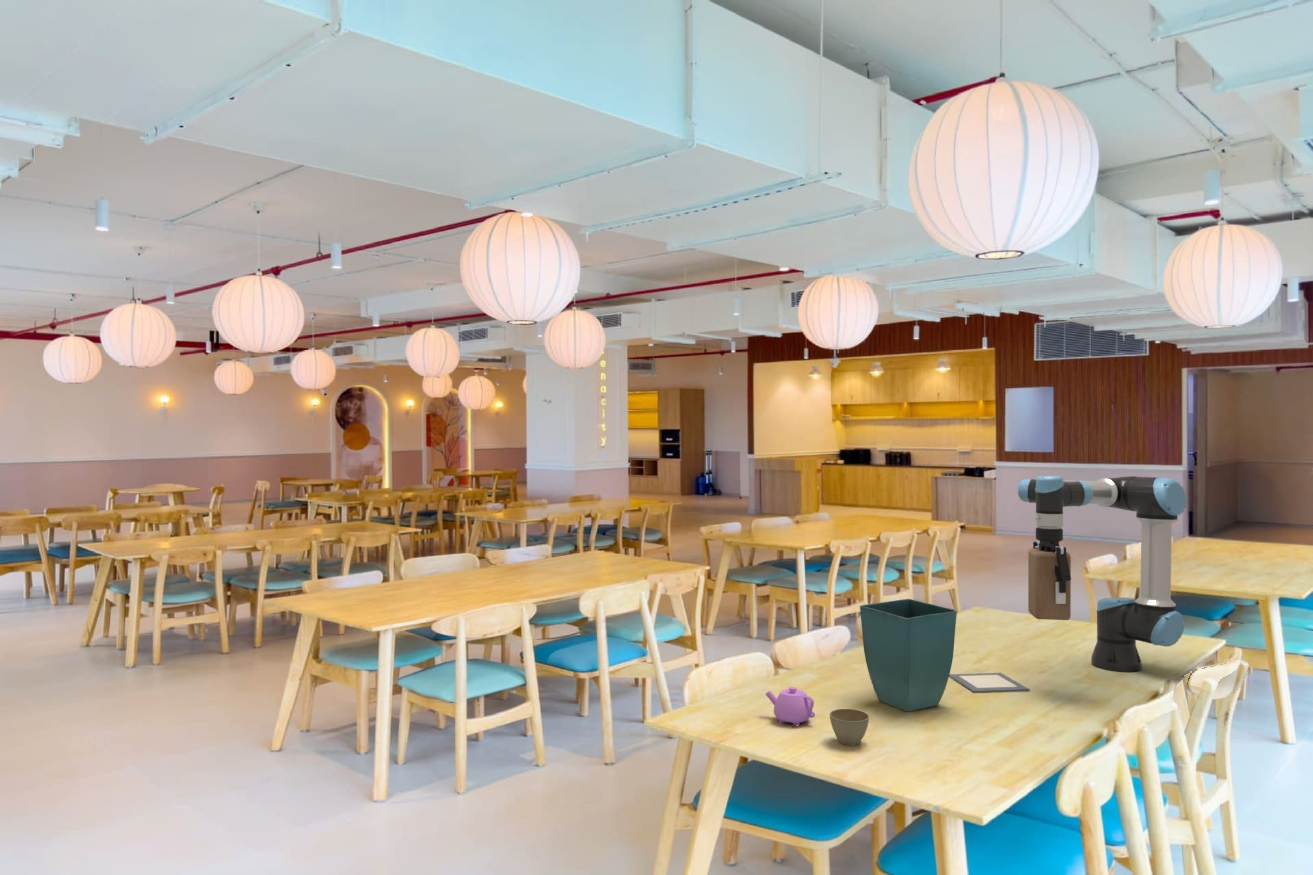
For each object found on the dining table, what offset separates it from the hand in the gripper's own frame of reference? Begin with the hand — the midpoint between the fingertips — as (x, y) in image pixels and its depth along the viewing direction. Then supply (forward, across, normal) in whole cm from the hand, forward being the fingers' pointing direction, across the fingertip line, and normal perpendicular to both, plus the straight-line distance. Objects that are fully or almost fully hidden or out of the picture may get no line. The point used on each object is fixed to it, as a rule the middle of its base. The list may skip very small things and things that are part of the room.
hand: (1049, 599), depth 262 cm
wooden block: (+5, 0, 0) cm, 5 cm away
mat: (+29, -14, -12) cm, 35 cm away
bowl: (+29, +31, -73) cm, 84 cm away
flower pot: (+29, +2, -45) cm, 54 cm away
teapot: (+29, +13, -84) cm, 89 cm away
